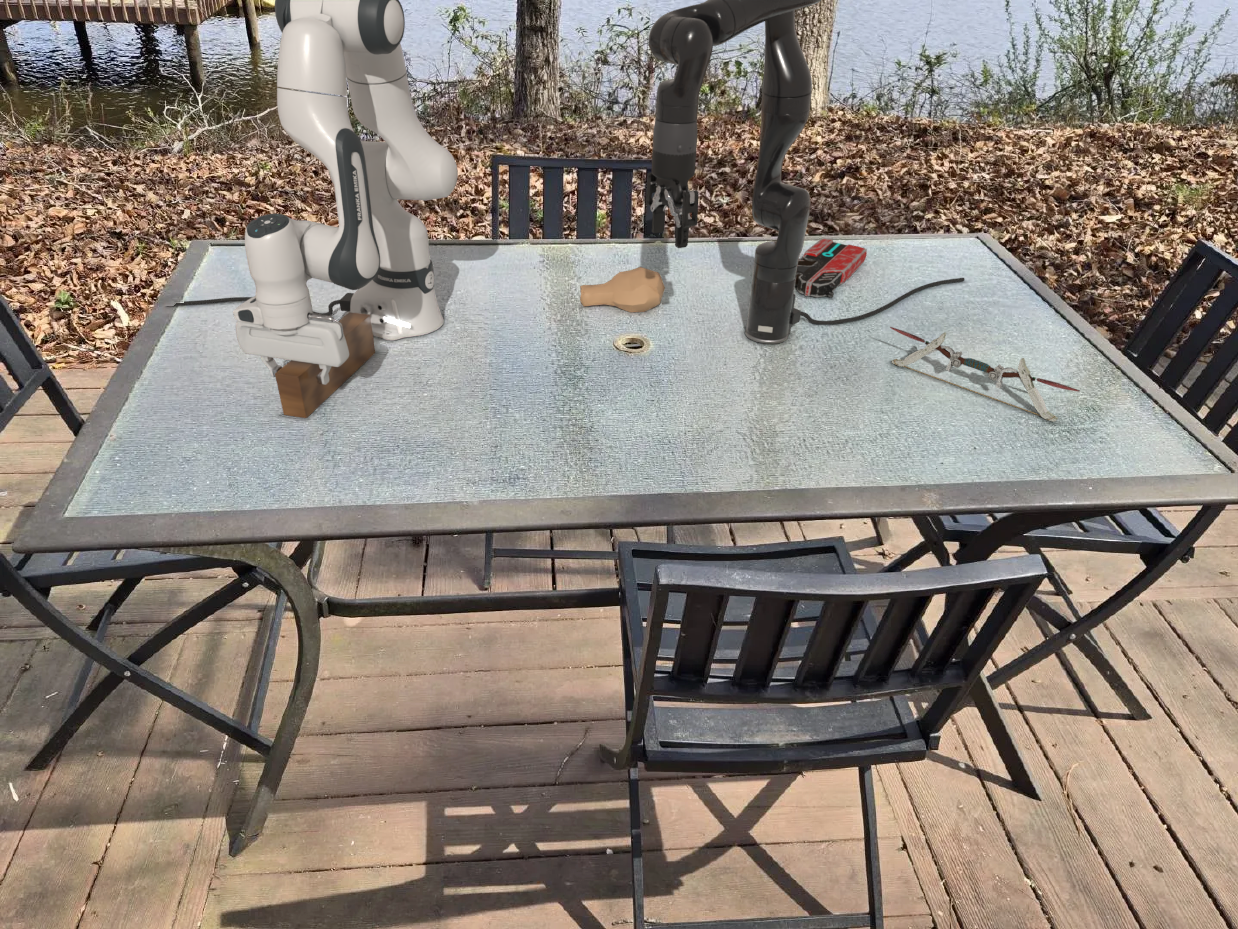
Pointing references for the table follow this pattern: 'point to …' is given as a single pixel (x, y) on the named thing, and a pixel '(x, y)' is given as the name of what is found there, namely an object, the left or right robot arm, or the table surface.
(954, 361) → the bow
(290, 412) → the bar
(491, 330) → the table surface
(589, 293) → the squash
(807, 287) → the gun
